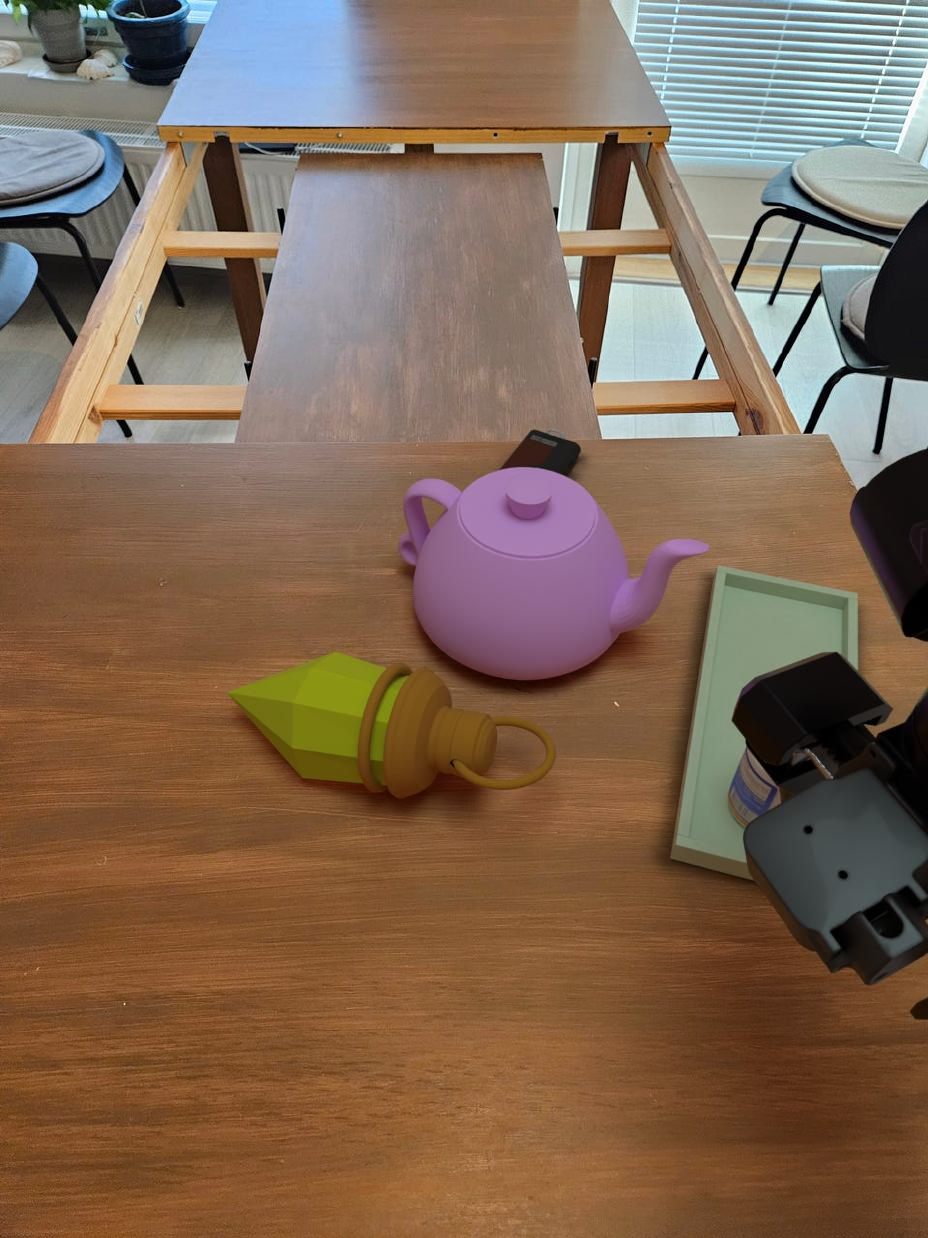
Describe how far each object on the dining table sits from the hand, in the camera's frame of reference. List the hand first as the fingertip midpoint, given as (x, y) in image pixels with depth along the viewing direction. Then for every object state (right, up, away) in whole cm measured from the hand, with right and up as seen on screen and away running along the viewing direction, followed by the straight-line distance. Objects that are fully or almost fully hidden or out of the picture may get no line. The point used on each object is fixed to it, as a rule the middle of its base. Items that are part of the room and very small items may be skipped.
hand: (853, 922), depth 44 cm
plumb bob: (-25, +4, +22) cm, 33 cm away
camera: (-12, +28, +43) cm, 53 cm away
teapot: (-13, +15, +31) cm, 37 cm away
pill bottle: (+2, +2, +19) cm, 19 cm away
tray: (+4, +7, +24) cm, 26 cm away
